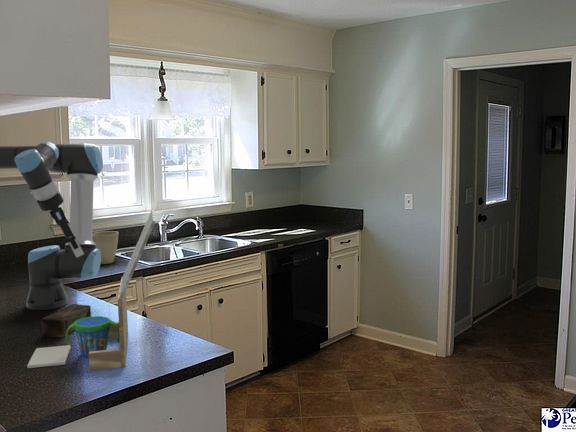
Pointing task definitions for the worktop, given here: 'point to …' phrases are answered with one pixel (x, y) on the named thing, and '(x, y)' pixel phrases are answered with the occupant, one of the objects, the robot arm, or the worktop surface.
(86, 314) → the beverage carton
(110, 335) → the tan tall piece
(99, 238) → the plant pot
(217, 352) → the worktop surface
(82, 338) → the snack cup
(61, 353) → the paving slab
